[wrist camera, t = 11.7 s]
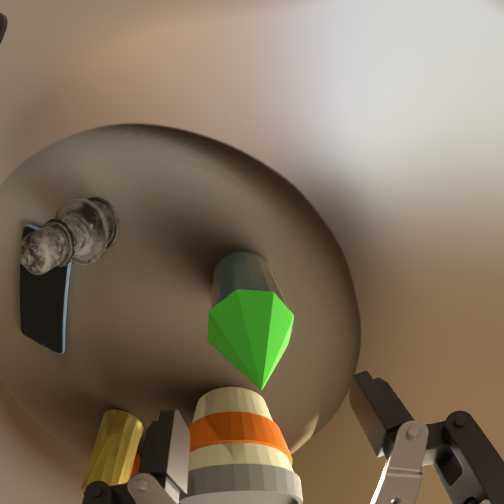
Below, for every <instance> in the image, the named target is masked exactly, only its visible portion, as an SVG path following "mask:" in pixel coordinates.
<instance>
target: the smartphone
mask: <svg viewBox="0 0 504 504" xmlns="http://www.w3.org/2000/svg"><path fill="white" fill-rule="evenodd" d="M39 229H41V228H39V227H37V226H35V225H32V224H27V225H25V226H24V228H23V231H22V239H21V244H22V241H23V239H24V238H25V237H26V236H27V235H28V234H30V233H32V232H34V231H37V230H39ZM20 258H21V255H20ZM71 263H72V262H70V263H69V264H67V265H66V266H63V267H56V266H55V267H54V268H52V269H51V270H49V271H48V272H46V273H44V274H41V275H35V274H32V273H31V272H29V271H28V270H27V269H26V268H25V266H24V265H22V264H21V263H20V267H19V313H20V328H21V331H22V333H23V334H24V335H25V336H26V337H28V338H30V339H31V340H33V341H35V342H37V343H38V344H40V345H42V346H44V347H46V348H48V349H50V350H51V351H53V352H55V353H58V354H63V353H64V351H65V333H66V311H67V298H68V287H69V278H70V270H71Z"/></svg>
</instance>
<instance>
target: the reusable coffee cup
mask: <svg viewBox="0 0 504 504" xmlns="http://www.w3.org/2000/svg"><path fill="white" fill-rule="evenodd" d="M188 430H189V433H190V449H189V465H188V485H187V494H179V502H180V503H181V504H303V499H302V490H301V481H300V478H299V476H298V475H297V474H296V473H294V472H293V469H292V467H291V465H292V457H291V455H290V452H289V450H288V448H287V445H286V443H285V441H284V438H283V436H282V434H281V431H280V429H279V427H278V426H277V425H276V424H275V423H274V422H273V421H272V418H271V416H270V413H269V411H268V408H267V406H266V403H265V401H264V399H263V398H262V397H261V396H260V395H259V394H257V393H256V392H254V391H252V390H249V389H246V388H241V387H222V388H218V389H214V390H212V391H209V392H207V393H206V394H204V395H203V396H202V397H201V398H200V399H199V401H198V402H197V406H196V410H195V413H194V417H193V421H192V424H191V425H190V426H189V427H188Z"/></svg>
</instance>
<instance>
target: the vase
mask: <svg viewBox="0 0 504 504" xmlns="http://www.w3.org/2000/svg"><path fill="white" fill-rule="evenodd" d="M142 433H143V425H142V423H141V422H140V420H139V419H138V418H136V417H135V416H133V415H132V414H130V413H128V412H126V411H123V410H119V409H110V410H107V411H106V412H105V413H104V415H103V420H102V423H101V425H100V429H99V432H98V435H97V438H96V441H95V445H94V448H93V451H92V455H91V458H90V462H89V465H88V468H87V471H86V474H85V478H84V481H83V485H82V487H81V495H82V496H83V497H84V493H85V489H86V487H87V486H88V485H89V484H90V483H91V482H93V481H103V482H105V483H107V484H108V485H109V486H112V485H118V484H124V483H127V482H128V481H129V480H130V476H131V472H132V468H133V463H134V459H135V456H136V452H137V448H138V444H139V441H140V438H141V435H142Z"/></svg>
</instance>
